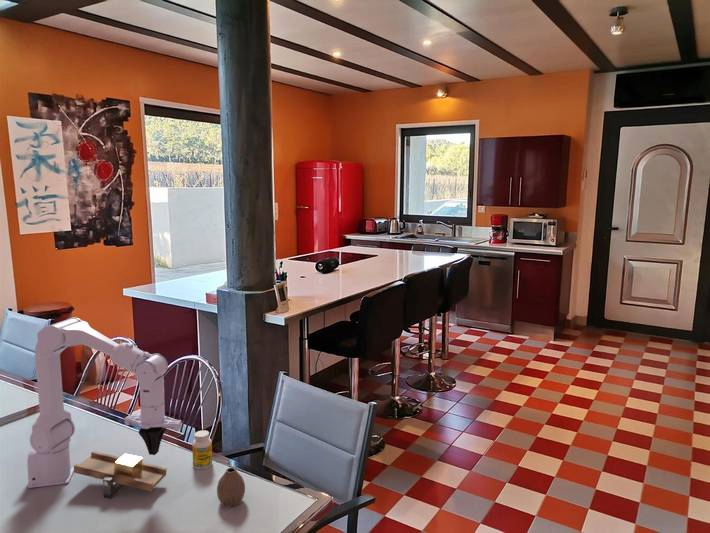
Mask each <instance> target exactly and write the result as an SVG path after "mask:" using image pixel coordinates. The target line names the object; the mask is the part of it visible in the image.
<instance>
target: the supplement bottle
mask: <svg viewBox="0 0 710 533" xmlns="http://www.w3.org/2000/svg"><path fill="white" fill-rule="evenodd" d="M191 446H192V448H191V449H192V467H193V468H194V469H197V470H205V469H208V468H209V467H211V465H212V464H213V440H212V439H211V438H210V432H209V431H208V430H205V429H204V430H198V431H196V432H195V433H194V439H193V441H192V445H191Z"/></svg>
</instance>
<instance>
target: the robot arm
mask: <svg viewBox="0 0 710 533" xmlns="http://www.w3.org/2000/svg"><path fill="white" fill-rule="evenodd" d="M36 336H37V337H36V338H37V342H36V345H35V348H34V358H35V367H36V369H35V371H36V372H35V373H36V382H37V394H38V405H39V406H38V407H39V415H38V416H37V418H36V419H35V421H34V422H33V424H32V425H31V435H30V437H29V444H30V447H31V449H30V450H29V452H28V455H27V461H26V462H27V476H28V477H27V478H28V479H27V480H28V485H27V489H31V488H32V489H33V488H39V487H49V486H57V485H67V484H69V482H70V481H71V478H72V477H73V474H74V466H71V456H70V453H71V452H70V442H71V437H73V435H74V434H75V431H76V426H75V423H74V422H73V419H72V414H71V412H70V411H68V410H65V409H64V408H65V405H64V393H63V392H64V391H63V380H62V368H61V367H62V366H61V354H62V352H63V351H64V350H66V349H67V348H69V347H74V346H75V347H76V346H80V345H84V346H86V347H88V348H90V349H93V350H95V351H98V352H100V353H102V354H105V355H107V356H110V358H111V362H112V363H113V364H115V365H116V366H119V367H121V368H122V369H124V370H127V371H128V372H131V373H133V374H134V377H135V379H136V380H137V382H138V387H139V400H140V401H139V402H140V414H137V415H134V414H131V415H130V414H128V416H125V418H124V426H130V425H131V426H132V425H133V426H141V427H140V429H139V430H138V435H139V436H140V437H141V438H142V439H143V442H144V444H145V445H146V446H145V447H146V449H147V452H148V454H149V455H151V456H156V454H158V453H159V451H160V447H161V442H162V439H163V436H164V434H165V432H166V430H167V429H168V430H169V429H170V430H174V431H179V430H180V429H182V420H181V419H175V418H173V417H169V416H167V415H166V414H165V412H166V410H165V379H164V378H165V376H164V374H166V372H167V371H168V368H169V364H168V360H167V359H166V358H165V356H163V355H162V354H160V353H152V354H151V353H149V352H148V351H144V350H141V349H140V348H138V347H135V346H134V343H133V342H130V341H129V342H122V343H117V342H116V341H115V340H113V339H111V338H109V337H107V336H105V334H102V333H101V332H99V331H97V330H96V329H94V328H92V327H91V326H90V325H89V322H87V321H85V320H82V319H81V318H78V317H75V316H74V317H69V318H67V319H65V320H62V321H58V322H56V323H53V324H50V325H46V326H44V327H43V328H41V329H40V330H39V331H37V334H36Z"/></svg>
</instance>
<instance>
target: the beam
mask: <svg viewBox="0 0 710 533" xmlns="http://www.w3.org/2000/svg"><path fill="white" fill-rule="evenodd" d="M121 457H122V456H115V455H112V454H107V453H103V452H98V451H95V450H92V451H91V453H90V456H89V457H88V458H86V459H85V460H83V461H82V462H80V463H75V464H74V465H73V467H74V472H73V474H79V475H83V476H85V477H86V476H87V477H90V478H95V479H99V480H102V481H103V479H104V478H105V477H110V478H113V483H114V484H115V483H119V484H123V485H125V486H128V487H132V488H136V489H139V490H142V491H143V490H144V491H148V492H152V490H154V489H155V487H156V486H157V485H158V484H159V483H160V482H161V481H162V480H163V479H164V478H165V477H166V476H167V469H168V468H167V467H162V466H158V465H154V464H150V463H146V462H142V470H141V471H140V472H139V473H138V474H136V475H135V476H134V477H129V476H125V475H120V474H116V473H114V467H115V462H116V461H117V460H118V459H119V458H121Z"/></svg>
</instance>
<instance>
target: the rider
mask: <svg viewBox="0 0 710 533" xmlns="http://www.w3.org/2000/svg"><path fill="white" fill-rule="evenodd" d="M120 457H121V458H119V459H118V460H117V461H116V462H115V467H114V473H116V474H120V475H125V476H129V477H134V476H135V475H136V474H138V473H139V472H140V471H141V470H142V463H143V459H144V458H143V457H142V456H138V455H133V454H129V453H126V452H125V453H124V454H123V455H122V456H120Z"/></svg>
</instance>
